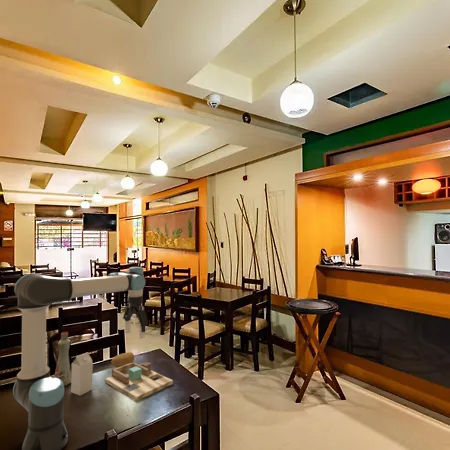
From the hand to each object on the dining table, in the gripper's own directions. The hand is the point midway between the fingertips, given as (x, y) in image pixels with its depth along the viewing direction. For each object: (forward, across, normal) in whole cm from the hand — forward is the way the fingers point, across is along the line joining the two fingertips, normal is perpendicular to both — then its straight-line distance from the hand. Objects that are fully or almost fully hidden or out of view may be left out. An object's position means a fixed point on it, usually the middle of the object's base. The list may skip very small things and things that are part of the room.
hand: (134, 335), depth 163 cm
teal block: (+25, +5, -4) cm, 26 cm away
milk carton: (+28, +17, +20) cm, 38 cm away
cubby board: (+27, +2, -4) cm, 28 cm away
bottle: (+28, +33, +23) cm, 49 cm away
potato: (+28, +27, -10) cm, 40 cm away
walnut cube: (+25, +8, -13) cm, 30 cm away
